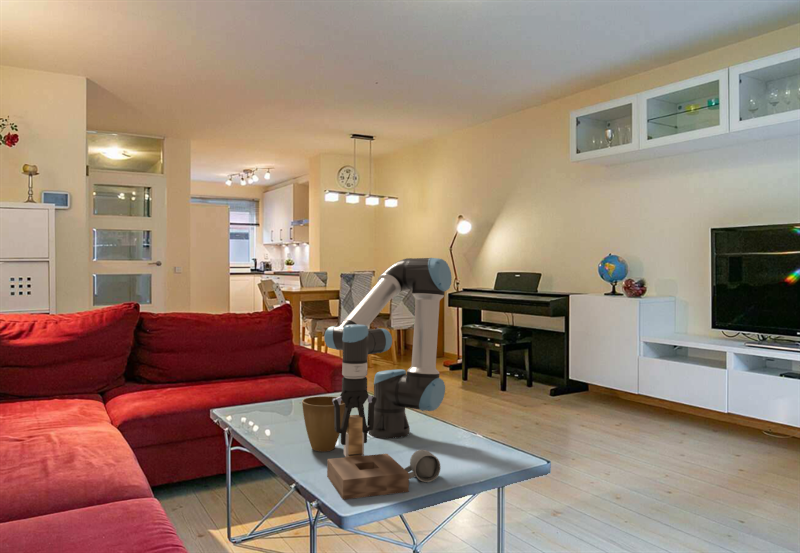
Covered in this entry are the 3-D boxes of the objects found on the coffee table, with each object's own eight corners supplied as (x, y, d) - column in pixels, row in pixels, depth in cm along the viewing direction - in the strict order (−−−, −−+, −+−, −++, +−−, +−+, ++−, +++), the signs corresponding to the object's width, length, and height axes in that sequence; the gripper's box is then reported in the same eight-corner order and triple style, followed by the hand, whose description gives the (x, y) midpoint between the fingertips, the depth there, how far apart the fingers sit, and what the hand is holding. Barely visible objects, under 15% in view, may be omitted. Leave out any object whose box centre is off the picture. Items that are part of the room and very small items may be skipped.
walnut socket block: (386, 470, 170) (387, 453, 170) (408, 491, 153) (408, 473, 153) (327, 476, 164) (327, 459, 164) (342, 499, 147) (343, 479, 147)
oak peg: (358, 464, 174) (358, 414, 174) (361, 468, 171) (362, 417, 171) (345, 465, 173) (345, 415, 173) (348, 469, 169) (349, 418, 169)
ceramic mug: (432, 471, 170) (432, 445, 170) (440, 481, 162) (440, 454, 162) (397, 474, 167) (397, 448, 167) (404, 484, 159) (404, 456, 159)
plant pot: (303, 456, 182) (304, 406, 182) (299, 443, 196) (300, 396, 196) (350, 453, 186) (350, 404, 186) (342, 441, 200) (343, 395, 200)
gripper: (329, 380, 165) (328, 461, 165) (385, 377, 171) (384, 455, 171) (323, 375, 172) (322, 453, 172) (378, 373, 178) (377, 448, 178)
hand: (353, 454), depth 172 cm, fingers closed on oak peg, 4 cm apart
